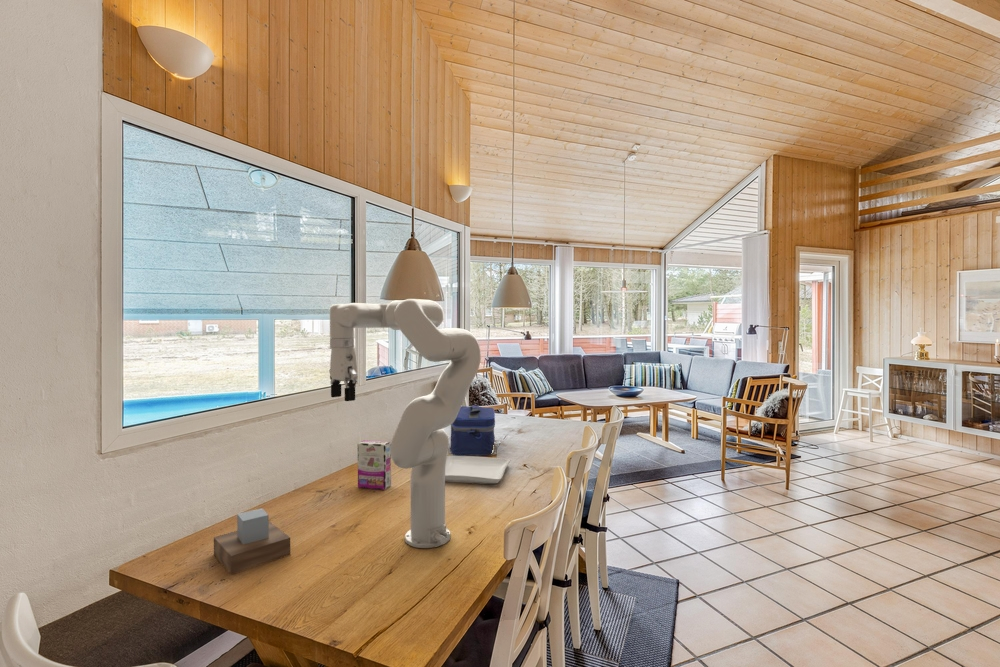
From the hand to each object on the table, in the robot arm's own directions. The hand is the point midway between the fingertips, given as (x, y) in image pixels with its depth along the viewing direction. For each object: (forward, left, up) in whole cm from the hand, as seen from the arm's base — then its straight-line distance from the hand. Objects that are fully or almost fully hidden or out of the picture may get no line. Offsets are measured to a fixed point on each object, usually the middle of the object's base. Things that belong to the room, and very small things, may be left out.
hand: (342, 398), depth 152 cm
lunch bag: (+34, -80, -37) cm, 94 cm away
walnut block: (-10, +29, -37) cm, 48 cm away
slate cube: (-10, +29, -32) cm, 44 cm away
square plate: (+4, -55, -37) cm, 66 cm away
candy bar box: (+16, -19, -36) cm, 44 cm away
